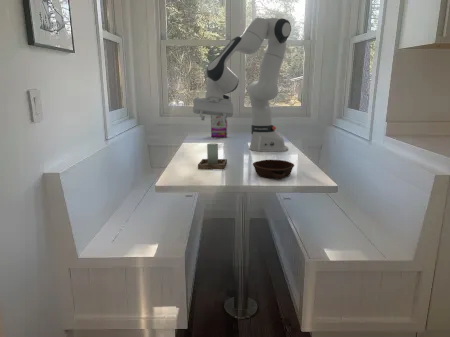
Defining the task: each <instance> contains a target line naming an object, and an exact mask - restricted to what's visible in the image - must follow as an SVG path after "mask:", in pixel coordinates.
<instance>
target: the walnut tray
mask: <svg viewBox="0 0 450 337" xmlns="http://www.w3.org/2000/svg"><path fill="white" fill-rule="evenodd" d="M226 164H228V159H225V158H221V159H220V158H218V164H208V159H207V158H202V159H201V160H200V162H198V164H197V170H213V169H224V168H226V167H225V166H227V165H226ZM224 170H225V169H224Z"/></svg>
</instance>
